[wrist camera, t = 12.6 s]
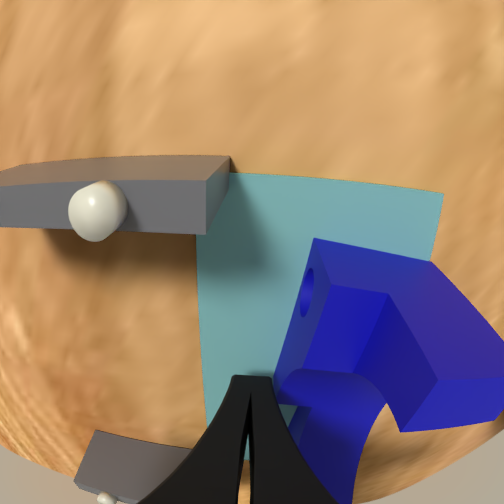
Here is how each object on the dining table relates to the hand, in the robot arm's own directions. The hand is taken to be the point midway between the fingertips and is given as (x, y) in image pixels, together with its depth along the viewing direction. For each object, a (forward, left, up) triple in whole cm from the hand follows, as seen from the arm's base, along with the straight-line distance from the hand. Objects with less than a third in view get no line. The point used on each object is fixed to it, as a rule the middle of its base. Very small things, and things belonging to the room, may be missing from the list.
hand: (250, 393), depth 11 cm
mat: (-2, 0, -1) cm, 2 cm away
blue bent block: (-3, +1, -2) cm, 3 cm away
